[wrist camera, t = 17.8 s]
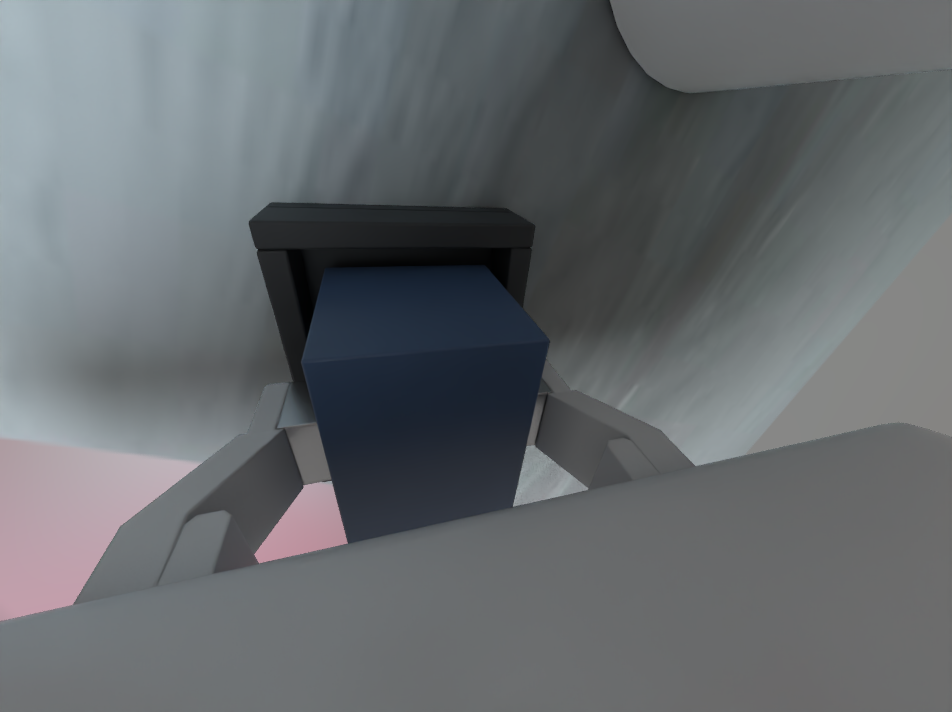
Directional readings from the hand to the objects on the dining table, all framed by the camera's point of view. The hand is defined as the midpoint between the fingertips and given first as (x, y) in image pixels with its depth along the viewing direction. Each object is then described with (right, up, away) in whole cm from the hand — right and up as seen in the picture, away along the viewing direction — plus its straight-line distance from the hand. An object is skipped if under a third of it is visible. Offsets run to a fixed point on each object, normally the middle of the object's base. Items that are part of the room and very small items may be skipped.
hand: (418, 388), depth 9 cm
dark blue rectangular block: (0, +1, +1) cm, 1 cm away
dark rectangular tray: (-1, +2, +2) cm, 3 cm away
